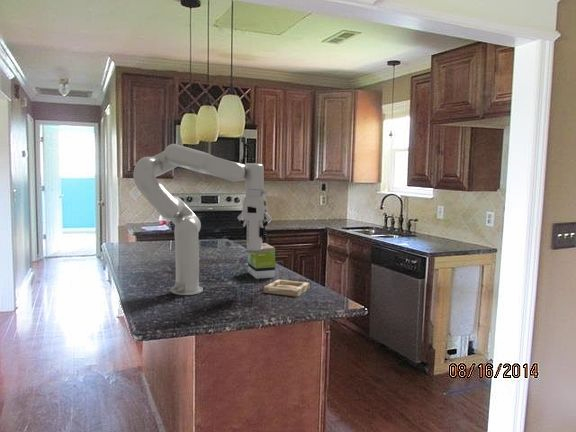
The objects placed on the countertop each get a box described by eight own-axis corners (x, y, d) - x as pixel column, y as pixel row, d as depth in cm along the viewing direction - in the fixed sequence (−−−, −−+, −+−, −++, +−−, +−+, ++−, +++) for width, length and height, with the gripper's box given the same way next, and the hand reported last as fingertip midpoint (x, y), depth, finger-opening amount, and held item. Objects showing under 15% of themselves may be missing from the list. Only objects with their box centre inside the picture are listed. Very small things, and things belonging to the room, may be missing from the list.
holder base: (297, 296, 193) (297, 290, 192) (264, 292, 198) (264, 286, 198) (309, 288, 206) (309, 282, 206) (278, 284, 212) (278, 279, 212)
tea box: (246, 272, 236) (247, 243, 235) (266, 271, 240) (266, 242, 239) (255, 279, 222) (255, 248, 221) (275, 277, 226) (276, 247, 225)
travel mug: (261, 250, 202) (262, 203, 200) (261, 253, 195) (261, 205, 193) (247, 250, 202) (247, 203, 200) (246, 253, 195) (246, 204, 193)
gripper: (277, 193, 196) (276, 236, 198) (240, 192, 203) (240, 234, 204) (269, 194, 189) (269, 239, 191) (231, 193, 196) (231, 236, 198)
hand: (254, 236), depth 198 cm, fingers closed on travel mug, 6 cm apart
